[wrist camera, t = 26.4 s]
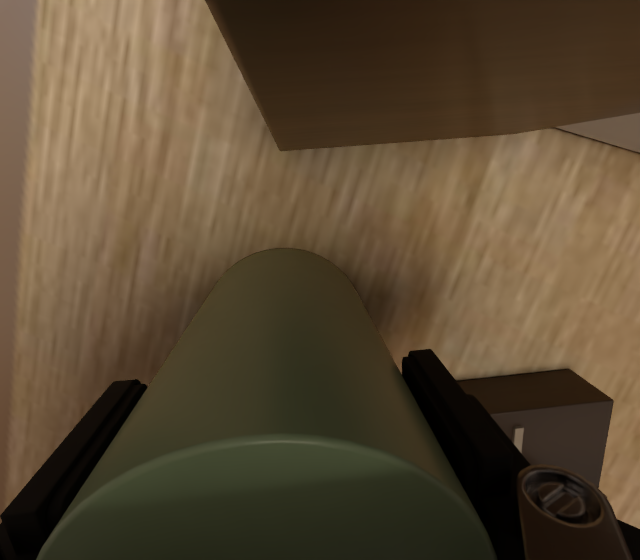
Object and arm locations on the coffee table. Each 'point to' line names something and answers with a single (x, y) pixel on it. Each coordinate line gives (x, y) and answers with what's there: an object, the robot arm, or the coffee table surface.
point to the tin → (274, 440)
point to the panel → (550, 418)
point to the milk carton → (611, 130)
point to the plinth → (431, 66)
